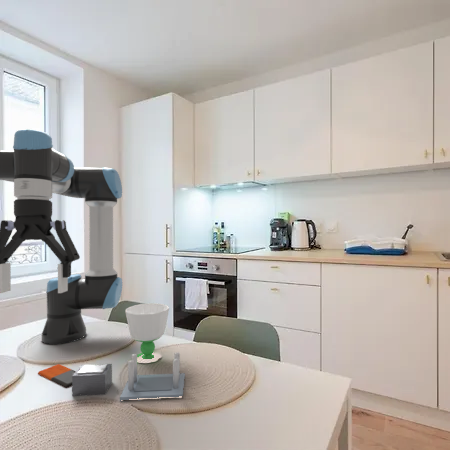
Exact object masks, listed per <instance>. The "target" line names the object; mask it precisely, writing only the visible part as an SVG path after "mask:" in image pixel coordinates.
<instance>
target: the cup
mask: <svg viewBox="0 0 450 450" xmlns="http://www.w3.org/2000/svg"><path fill="white" fill-rule="evenodd" d="M124 312H125V316H126V320H127V325H128V326H127V327H128V330H129V335H130V337H131V338H132V339H133V340H134V341H136V342H139V343H141V344H140V347H139V348H140V353H138V354H137V357H139V356H141V355H143V354H144V355H143V356H142V358H143V359H152V358H154V355H152V353H153V352H155V349H156V346H155V341H157V340H159V339H160V338H162V337H163V336H164V335H165V332H166V327H167V322H168V316H169V312H170V307H169V305H168V304H167V305H166V304H163V303H157V302H156V303H154V302H153V303H150V302H149V303H139V304H135V305H132V306H129V307H127V308H125V311H124Z"/></svg>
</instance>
